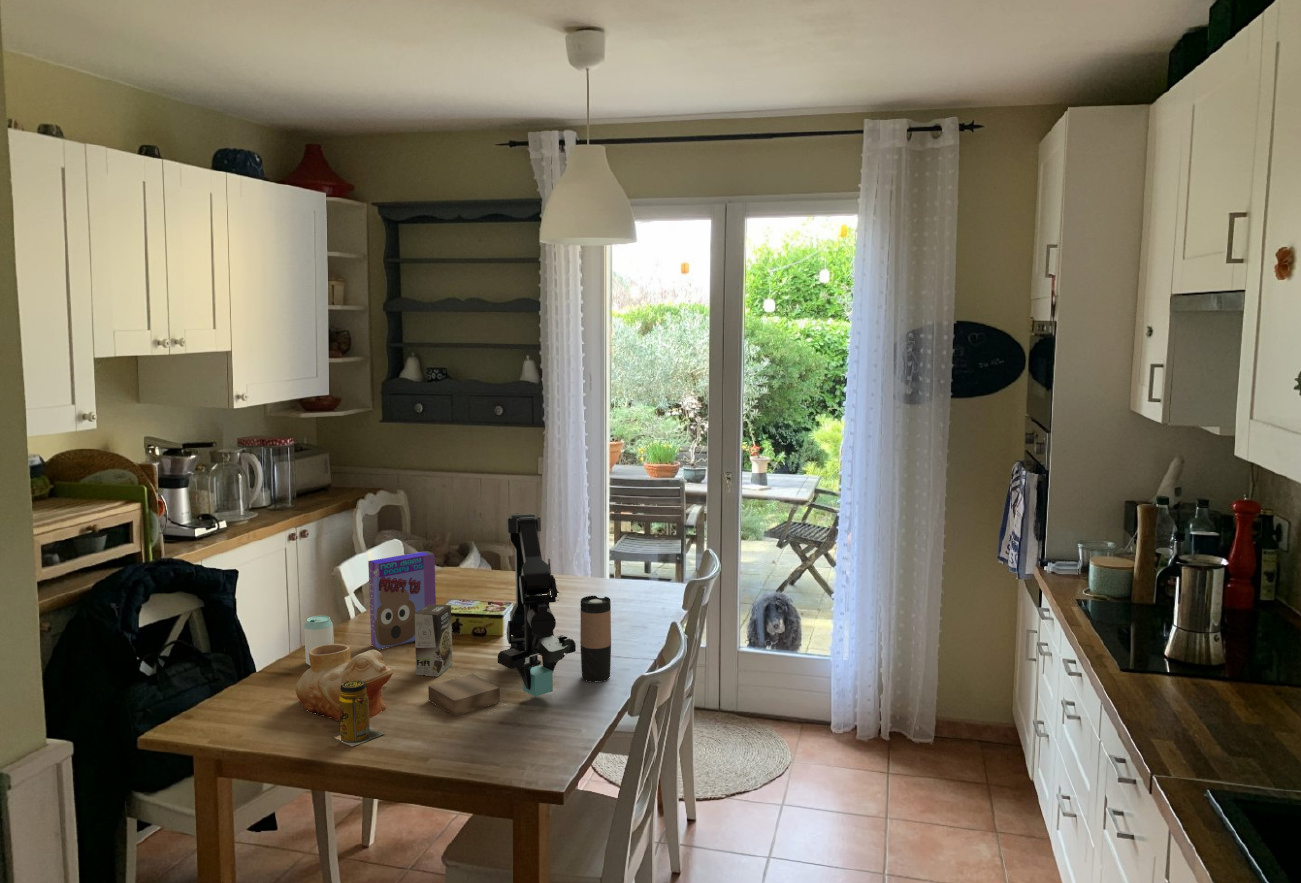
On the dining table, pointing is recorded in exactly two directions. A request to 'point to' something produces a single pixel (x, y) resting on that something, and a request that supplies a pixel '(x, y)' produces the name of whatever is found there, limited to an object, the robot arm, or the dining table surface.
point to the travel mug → (595, 638)
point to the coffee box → (433, 640)
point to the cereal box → (399, 596)
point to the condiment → (355, 714)
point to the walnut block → (464, 694)
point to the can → (317, 633)
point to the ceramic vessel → (341, 679)
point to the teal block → (540, 681)
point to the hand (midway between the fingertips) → (537, 686)
